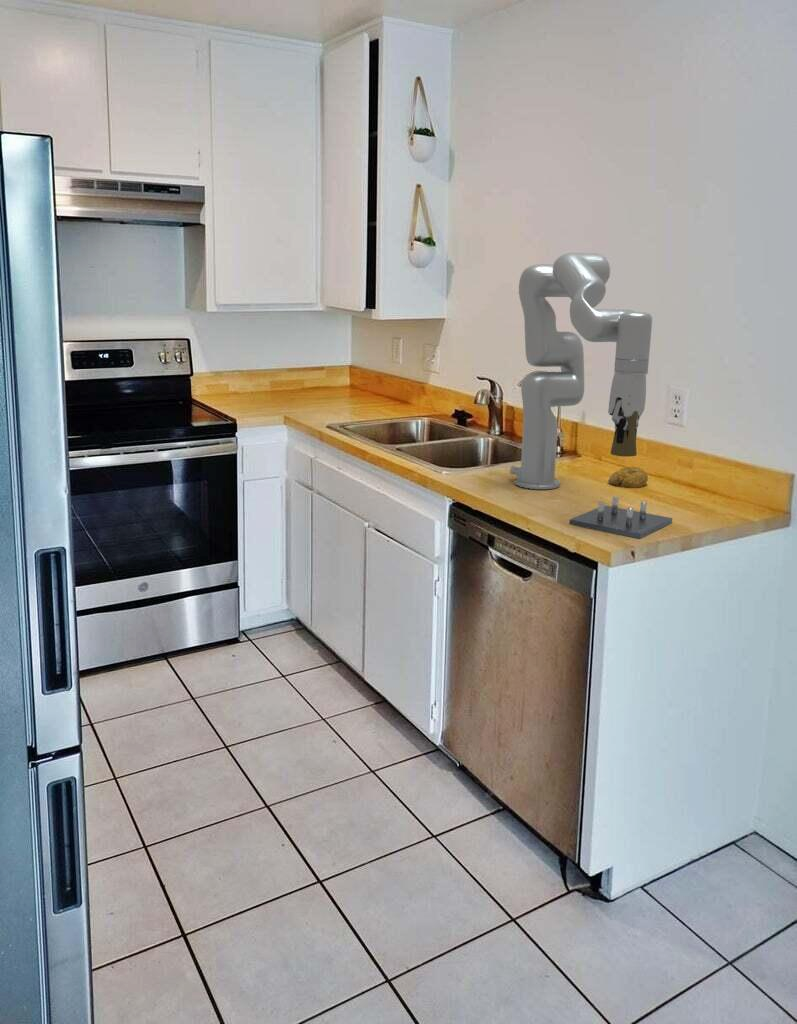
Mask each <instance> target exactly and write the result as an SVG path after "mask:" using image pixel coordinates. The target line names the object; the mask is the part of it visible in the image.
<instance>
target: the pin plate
mask: <svg viewBox="0 0 797 1024" xmlns="http://www.w3.org/2000/svg"><path fill="white" fill-rule="evenodd" d="M611 500H612V501H611V506H610V505H605V502H604V501H603V502H602V501H599V502H598V505H597V508H594V509H592V510H590V511H587V512H585V513H581V514H580V515H577V516H575V517H572V518H570V519H569V525H571V524H573V526H576V525H577V526H576V527H581V526H582V528H585V527H588V528H587V529H590V528H591V530H595V529H596V530H595V531H600V530H601V532H605V533H609V532H610V534H615V535H619V536H625V537H630V538H634V539H637V540H640V539H642V538H644V537H646V536H648V535H650V534H652V533H654V532H657V531H658V530H660V529H662V528H665V527H667V526H669V525H671V524H672V523H673V517H669V516H663V515H657V514H653V513H649V512H648V513H647V506H648V505H647V504H648V503H647V502H646V501H641V502H640V507H639V508H640V510H639V511H638V510H634V507H626V508H623V507H622V508H621V507H619V496H612V499H611Z"/></svg>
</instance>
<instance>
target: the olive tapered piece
mask: <svg viewBox="0 0 797 1024" xmlns="http://www.w3.org/2000/svg"><path fill="white" fill-rule="evenodd" d="M620 416H624V415H623V413H621V414H620ZM637 418H638V412H637V411H635V412H634V413H633V414H632V416H630V417H628V429H627V430H629V433H628V439H627V433H626V431H625V432H624V439H623V443H622V444H620V443H619V444H618V443H617V442H616V440H617V432H616V435H615V433H614V435H613V439H612V443H611V449H610V454H611V455H612V456H615V457H616V456H617V457H629V458H631V457H636V456H637V455H638V453H637V435H636V432H635V422H636V420H637ZM622 420H623V421H624V420H625V419H622ZM619 440H620V439H619Z"/></svg>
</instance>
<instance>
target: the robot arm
mask: <svg viewBox="0 0 797 1024" xmlns="http://www.w3.org/2000/svg"><path fill="white" fill-rule="evenodd" d="M610 275H611V267H610V263H609V261H608V259H607V258H606V257H605V256H604V255H602V254H599V253H594V252H593V253H592V252H590V253H588V252H585V253H584V252H568V253H565V254H562V255H560V256H559V257H557V259H556V260H554V263H540V264H534V265H530V266H528V267H526V268H525V269H524V270H523V272H521V275H520V278H519V282H518V297H519V301H520V304H521V308H522V312H523V317H524V318H523V319H524V342H525V343H524V345H525V357H526V361H527V363H528V364H529V365H530V366H532V367H535V368H552V367H553V368H555V367H556V368H557V367H559V368H560V371H539V372H538V371H537V372H536V371H535V372H532V373H529V374H528V375H526V376H525V377H524V378H523V379H522V382H521V387H520V388H521V389H520V392H521V401H522V409H523V410H522V411H523V412H522V413H523V415H522V416H523V417H522V438H521V440H522V441H521V443H522V444H521V455H520V456H521V459H520V460H521V461H520V466H514V465H512V466H510V467H509V468H510V469H509V474H511V475H516V478H515V479H514V485H516V486H517V485H518V486H517V487H519V486H520V488H523V487H524V488H523V489H528V488H529V489H530V490H552V489H557V488H559V486H560V484H561V483H560V480H559V479H557V478H555V474H556V462H557V461H556V459H557V443H558V420H557V417H556V416H555V414H554V412H553V411H552V408H554V407H571V406H572V407H573V406H576V405H578V404H580V402H581V401H582V400H583V398H584V394H585V361H584V360H585V359H584V357H585V356H584V354H585V353H584V346H583V343H582V340H581V338H580V337H582V338H583V339H584V340H585V341H587V342H590V343H609V342H610V343H616V345H615V356H614V357H615V359H614V370H613V372H614V373H613V378H612V380H611V381H612V382H611V387H610V392H609V393H610V394H609V400H608V410H607V411H608V415H609V416H611V421H612V422H613V424H614V429H615V430H614V434H615V435H616V432H617V440H616V442H617V443H618V444H619V443H620V444H622V443H623V439H624V432H625V431H626V433H627V439H628V433H629V430H627V429H628V417H630V416H632V414H633V413H634V412H635V411H637V412H638V418H637V420H636V422H635V432H636V436H637V435H638V434H637V432H638V428H639V420H640V418H641V416H642V414H643V413H644V410H645V407H646V406H645V405H646V396H647V393H646V392H647V375H648V373H649V362H650V361H649V360H650V352H651V351H650V349H651V338H652V327H653V316H652V314H650V313H649V312H645V311H635V310H631V309H616V308H612V309H609V308H606V309H605V308H603V309H602V308H601V309H595V308H596V307H597V306H598V305H599V304H600V303H601V302H602V301H603V299H604V298H605V296H606V292H607V291H606V290H607V289H606V284H607V282H608V281H609V279H610V277H611V276H610ZM546 298H569V299H570V300H571V301H570V304H569V317H570V318H569V319H570V322H571V324H572V326H573V328H574V329H575V330H576V332H577V333H578V334H579V335H580V337H579V335H578V334H576V333H575V332H573V331H558V329H557V315H556V312H555V310H554V308H553V306H551V303H550V302H549V301H548V300H547V299H546ZM621 413H623V415H624V416H620V414H621ZM622 419H625V420H624V421H623V420H622ZM619 439H620V440H619Z"/></svg>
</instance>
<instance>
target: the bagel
mask: <svg viewBox="0 0 797 1024" xmlns="http://www.w3.org/2000/svg"><path fill="white" fill-rule="evenodd" d="M648 479H649V475H648V474H647V472H646V471H645V470H644V469H643V468H640V467H638V466H625V467H622V468H621V469H619V470H616V471H615V472H613V473H611V476H610V477H609V478H608V480H607V481H608V483H609V485H612V484H613V486H617V487H623V488H628V489H629V488H631V489H638V488H643V487H644V486H645V485H646V484H647V482H648Z"/></svg>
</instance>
